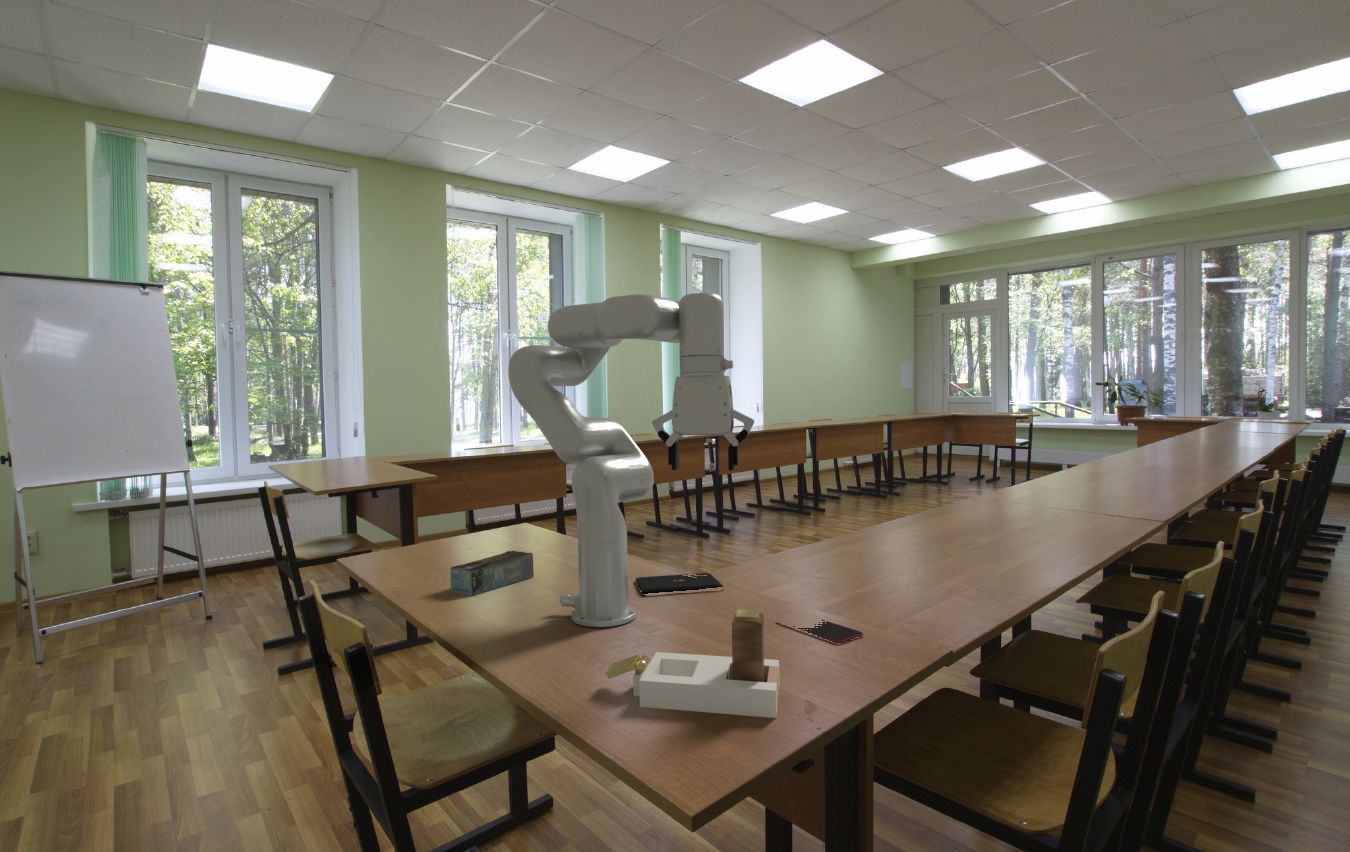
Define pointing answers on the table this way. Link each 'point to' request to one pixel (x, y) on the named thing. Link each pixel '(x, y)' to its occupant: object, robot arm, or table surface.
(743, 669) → the plug
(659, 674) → the white socket holder
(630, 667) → the latch tab
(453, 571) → the beverage carton
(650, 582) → the laptop
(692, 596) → the table surface
